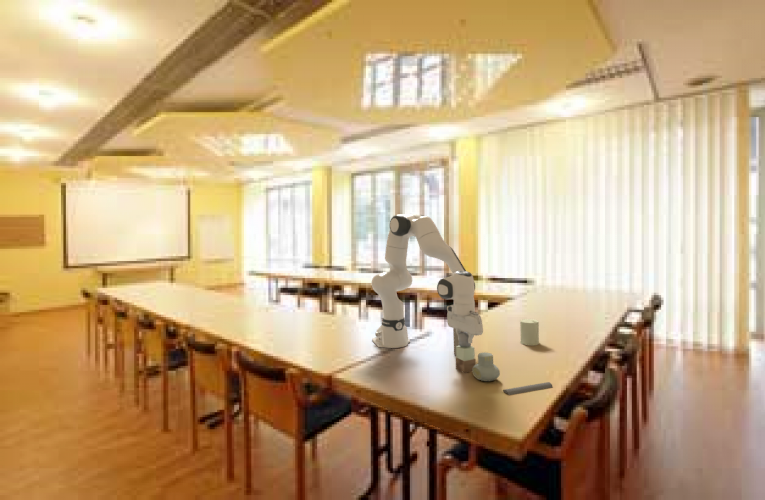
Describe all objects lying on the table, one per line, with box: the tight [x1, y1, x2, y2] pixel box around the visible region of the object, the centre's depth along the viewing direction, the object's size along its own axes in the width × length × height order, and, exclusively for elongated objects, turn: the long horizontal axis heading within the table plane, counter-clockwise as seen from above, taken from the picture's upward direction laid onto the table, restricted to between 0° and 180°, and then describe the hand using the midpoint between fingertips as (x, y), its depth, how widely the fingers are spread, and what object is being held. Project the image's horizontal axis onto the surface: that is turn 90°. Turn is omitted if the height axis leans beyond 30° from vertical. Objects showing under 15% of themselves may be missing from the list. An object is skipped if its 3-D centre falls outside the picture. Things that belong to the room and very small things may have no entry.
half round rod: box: [502, 381, 554, 396], centre depth 153 cm, size 4×20×2 cm, turn 107°
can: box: [519, 318, 540, 346], centre depth 212 cm, size 9×9×12 cm
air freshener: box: [471, 351, 501, 382], centre depth 164 cm, size 11×8×10 cm
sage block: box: [455, 345, 476, 361], centre depth 176 cm, size 6×6×5 cm
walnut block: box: [455, 357, 477, 374], centre depth 176 cm, size 6×6×5 cm
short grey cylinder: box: [459, 332, 472, 347], centre depth 176 cm, size 5×5×5 cm
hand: (464, 341), depth 176 cm, fingers closed on short grey cylinder, 5 cm apart
